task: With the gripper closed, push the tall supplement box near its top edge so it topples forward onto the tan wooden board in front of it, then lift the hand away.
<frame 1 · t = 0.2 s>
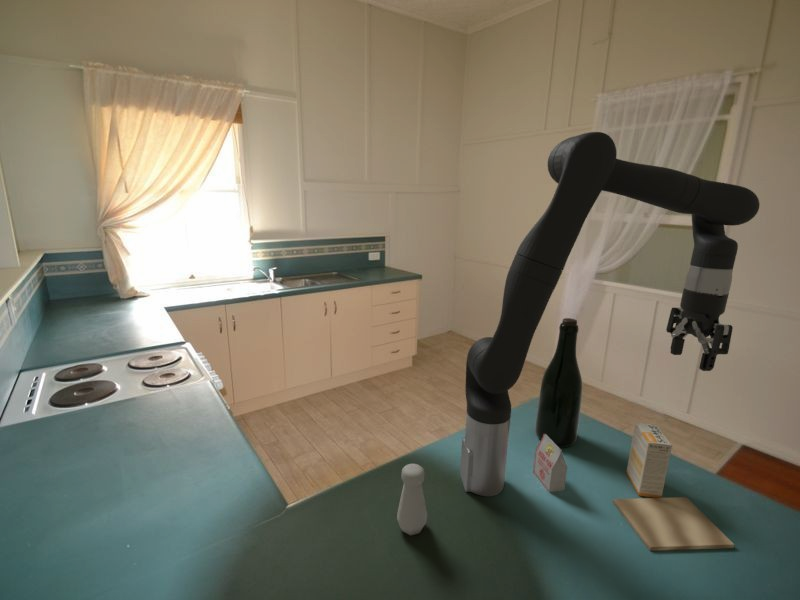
hand: (689, 361, 87), 28 cm above the countertop, tool pointing down, fingers open, 8 cm apart
supplement box: (643, 485, 90), on the countertop
tan wooden board: (668, 523, 80), on the countertop
white printed carton box: (548, 481, 91), on the countertop
dark green wine bottle: (554, 437, 108), on the countertop
salt shaker: (411, 527, 78), on the countertop
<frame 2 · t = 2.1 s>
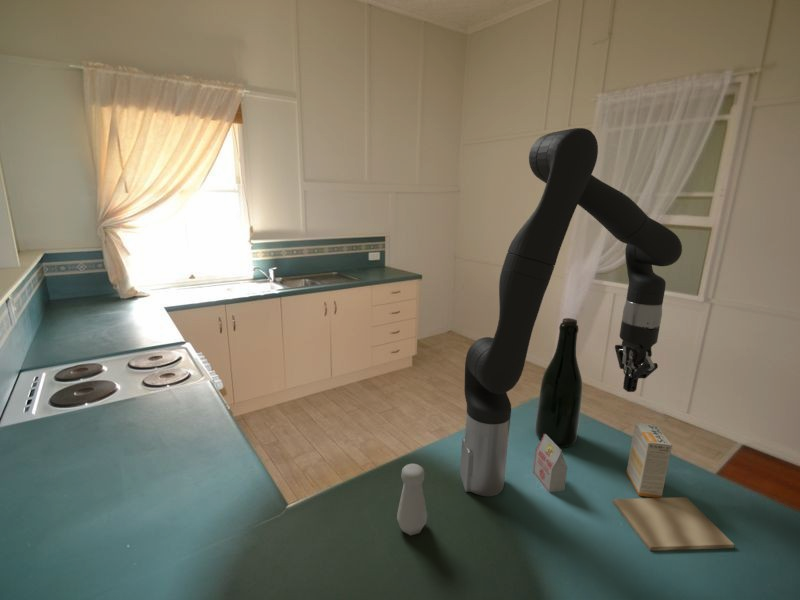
hand: (629, 390, 95), 18 cm above the countertop, tool pointing down, fingers closed
nothing on the countertop moved.
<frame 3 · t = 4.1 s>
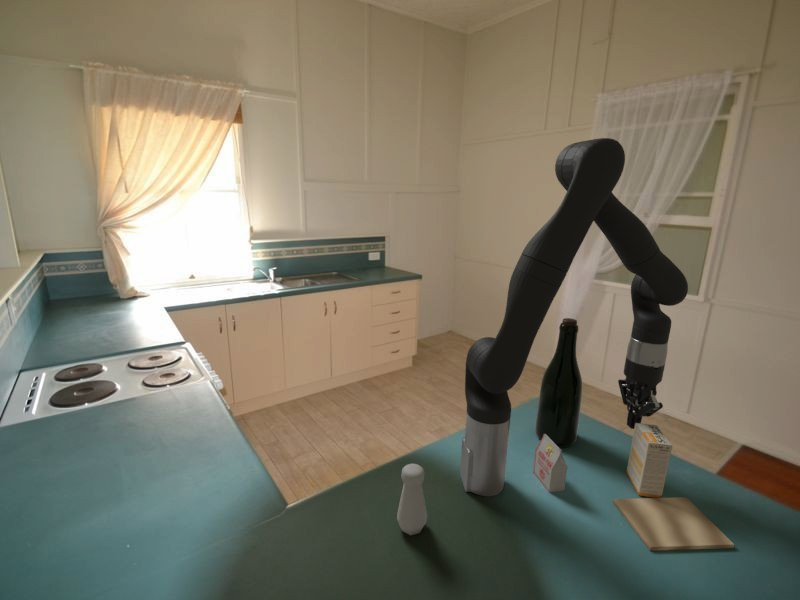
hand: (632, 427, 94), 11 cm above the countertop, tool pointing down, fingers closed
supplement box: (643, 485, 90), on the countertop, touching gripper
everything else where it was.
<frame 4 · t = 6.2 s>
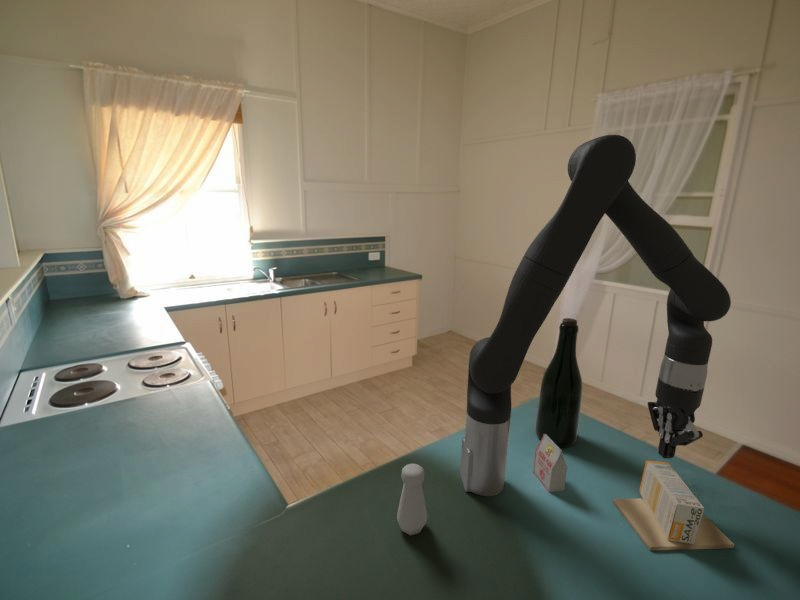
hand: (665, 456, 83), 11 cm above the countertop, tool pointing down, fingers closed
supplement box: (653, 476, 86), point 5 cm above the countertop, touching tan wooden board
everything else where it was.
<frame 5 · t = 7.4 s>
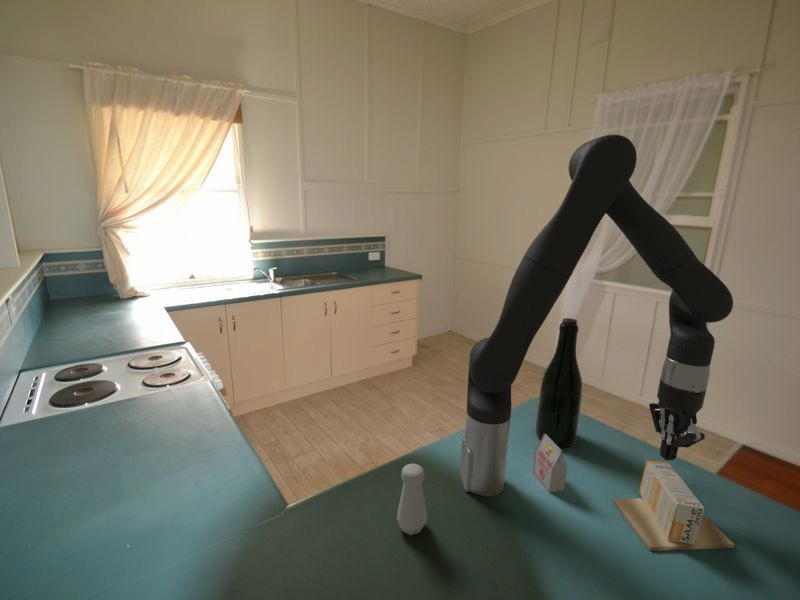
hand: (667, 458, 83), 10 cm above the countertop, tool pointing down, fingers closed
nothing on the countertop moved.
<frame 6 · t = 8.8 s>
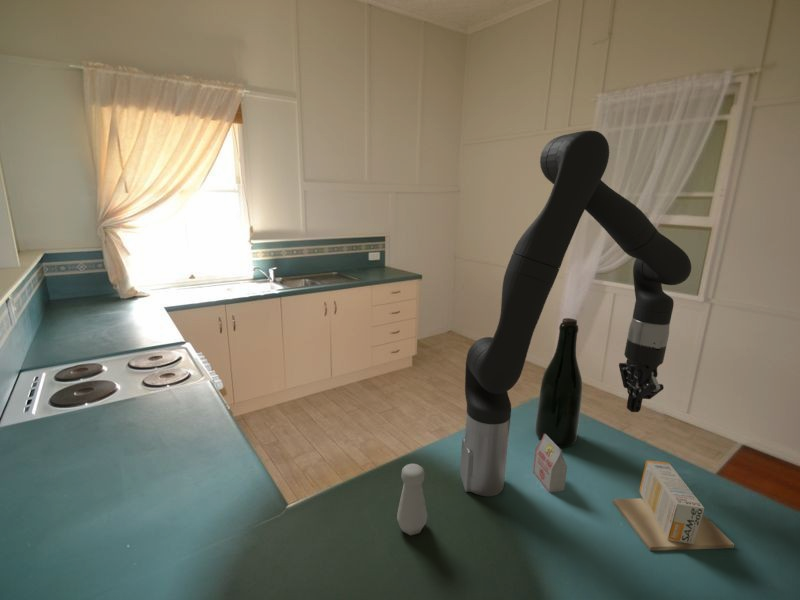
hand: (632, 410, 93), 15 cm above the countertop, tool pointing down, fingers closed
nothing on the countertop moved.
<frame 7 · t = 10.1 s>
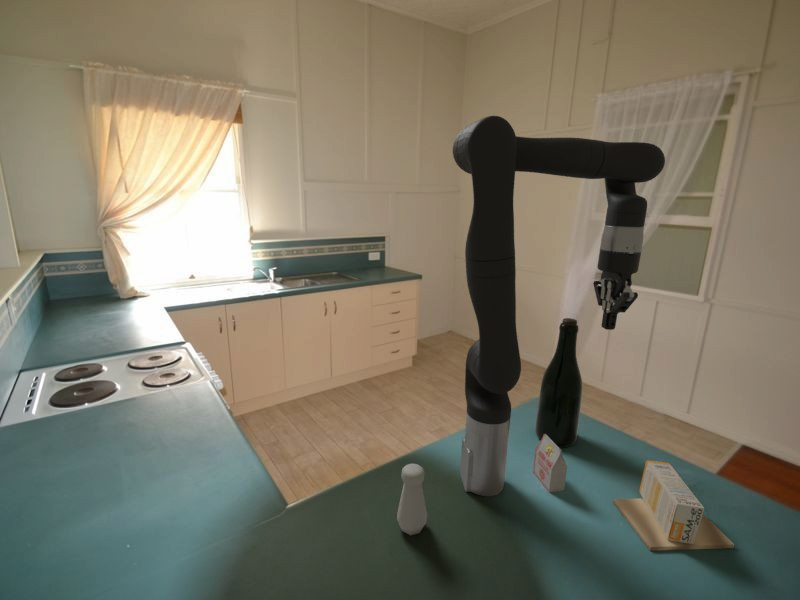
hand: (607, 328, 87), 35 cm above the countertop, tool pointing down, fingers closed
nothing on the countertop moved.
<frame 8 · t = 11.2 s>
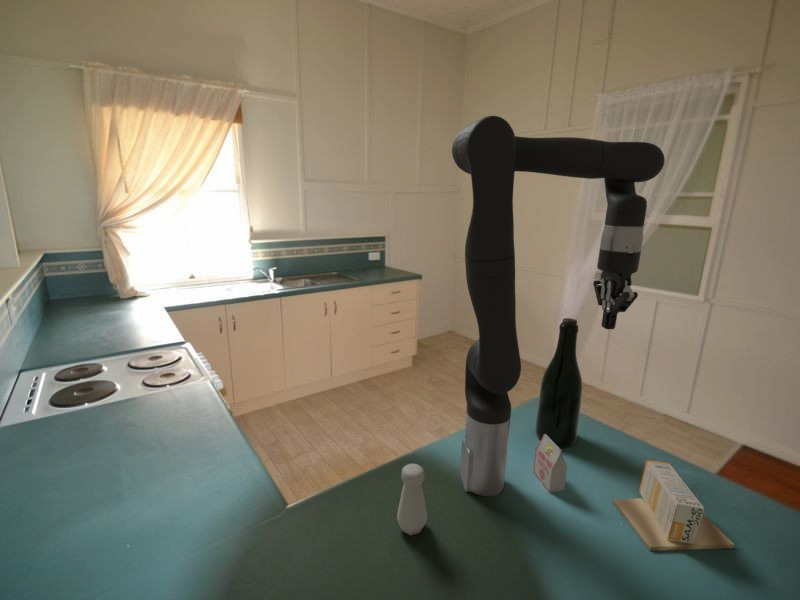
hand: (607, 328, 87), 35 cm above the countertop, tool pointing down, fingers closed
nothing on the countertop moved.
at the end: supplement box tilted 91°; supplement box touching tan wooden board; the gripper is holding nothing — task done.
